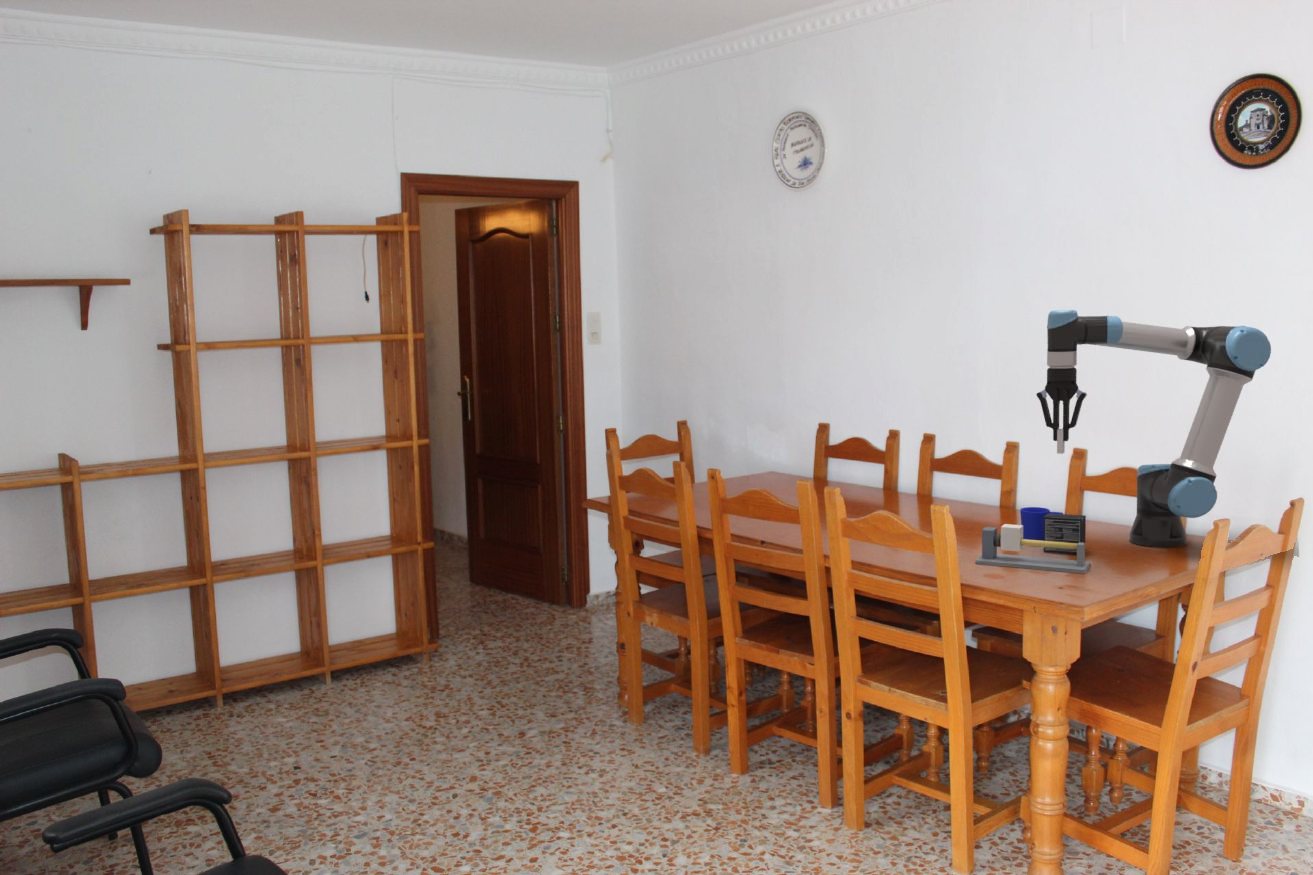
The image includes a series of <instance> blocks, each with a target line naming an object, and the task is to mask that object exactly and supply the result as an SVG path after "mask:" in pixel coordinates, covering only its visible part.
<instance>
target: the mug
mask: <svg viewBox="0 0 1313 875" xmlns="http://www.w3.org/2000/svg"><path fill="white" fill-rule="evenodd" d="M1019 511H1020V525H1023V539H1027V540H1040V541H1044V516H1045V515H1047V514H1048V513H1050V514H1064V513H1063V512H1061V511H1051V510H1050V509H1049V508H1045V507H1038V506H1028V507H1027V506H1026V507H1022V508H1021V507H1020V510H1019Z"/></svg>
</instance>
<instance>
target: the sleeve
mask: <svg viewBox="0 0 1313 875" xmlns="http://www.w3.org/2000/svg"><path fill="white" fill-rule="evenodd" d="M1000 534H1001V547H1000V551H1005V552H1006V551H1009V552H1021V551H1022V550H1023V549H1024V545H1020V541H1021V539H1023V525H1021V524H1010V523H1004V524H1003V525H1002V526H1001V527H1000Z"/></svg>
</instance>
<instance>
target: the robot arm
mask: <svg viewBox="0 0 1313 875" xmlns="http://www.w3.org/2000/svg"><path fill="white" fill-rule="evenodd" d="M1046 328H1047V329H1046V330H1047V333H1046V335H1047V337H1046V338H1047V352H1046V356H1047V357H1046V359H1047V360H1046V365H1047V367H1048V368H1047V369H1046V384H1045V387H1044V389H1043V390H1041V391H1039V392H1037V393H1036V397H1037V399H1038V400H1039V402H1040V405H1041V409H1042V413H1043V419H1044V421H1045V426H1046V427H1047V428H1050V429H1052V430H1053V431H1052V440H1053V441H1054V442H1056V454H1061V455H1063V454H1064V453H1065V452H1066V451H1065V448H1066V446H1065V445H1066V444H1065V442H1068V441H1069V439H1070V432H1069V431H1070V430H1071V429H1073V428H1075V427H1076V426H1077V424H1078V423H1077V422H1078V421H1079V420H1078V419H1079V416H1080V412H1081V408H1082V404H1083V401H1084V399H1086V397H1087V395H1088V394H1087V392H1085V391H1082V390H1080V389H1079V386H1078V384H1077V373H1078V372H1077V368H1076V366H1077V362H1078V361H1077V360H1078V359H1077V358H1078V352H1077V351H1078V349H1077V348H1078V345H1082V346H1083V345H1093V346H1099V347H1100V346H1102V347H1108V348H1109V347H1110V348H1118V349H1125V350H1132V351H1140V352H1148V353H1154V354H1155V353H1157V354H1163V355H1164V354H1165V355H1170V356H1177V358H1178V359H1179V360H1182V361H1190V362H1195V363H1198V364H1202V365H1206V368H1205V370H1206V371H1207V373H1208V375H1209V377H1208V379H1207V380H1208V381H1207V382H1206V386H1205V388H1204V391H1203V394H1202V397H1201V399H1200V402H1199V405H1198V407H1197V409H1196V413H1195V415H1194V418H1193V422H1192V424H1191V427H1190V430H1189V431H1188V435H1187V437H1186V440H1185V442H1184V445H1183V449H1182V451H1181V454H1180V456H1179V458H1177V459H1176V460H1175V459H1174V460H1173V461H1172V462H1171V463H1160V464H1159V463H1157V464H1141V465H1139V467H1137V474H1136V516H1135V518H1134V521H1133V524H1132V526H1131V529H1130V532H1129V542H1130V543H1132V544H1135V545H1139V546H1144V547H1150V548H1178V547H1184V546H1186V545H1188V535H1187V533H1186V529H1185V526H1184V523H1183V520H1182V518H1189V519H1197V518H1201V517H1203V516H1205V515H1207V514H1208V513H1209V512H1210V511H1212V509H1213V508H1214V507H1215V504H1217V499H1218V491H1217V489H1216V486H1215V484H1214V483H1215V481H1216V480H1217V479H1216V478H1217V474H1216V472H1215V470H1214V465H1215V464H1216V460H1217V458H1218V455H1219V452H1220V449H1221V447H1222V445H1223V441H1224V438H1225V436H1226V434H1227V431H1228V428H1229V425H1230V422H1231V420H1232V418H1233V415H1234V412H1235V409H1236V407H1237V404H1238V401H1239V398H1240V396H1241V393H1242V390H1243V387H1244V386H1245V385H1246V384H1248V383H1251V382H1252V381H1253V379H1254V376H1255V373H1256V371H1257V370H1259V369H1261V368H1263V367H1264V366H1266V364H1267V363H1268V361H1269V359H1270V358H1271V353H1272V347H1271V342H1270V339H1269V338H1268V336H1267V335H1266V334H1265V333H1264V332H1263V331H1262V330H1260V329H1259V328H1256V327H1253V326H1247V325H1246V326H1245V325H1240V326H1229V325H1228V326H1225V325H1217V326H1189V325H1188V326H1187V325H1186V326H1184V327H1182V328H1176V327H1169V326H1160V325H1154V324H1153V325H1151V324H1143V323H1136V322H1128V321H1123V320H1122V319H1121V318H1120V317H1119V316H1118V315H1100V316H1099V315H1094V316H1093V315H1091V316H1090V315H1087V316H1081V315H1080V316H1079V315H1078V311H1077V310H1076V309H1068V310H1067V309H1065V310H1064V309H1063V310H1058V309H1057V310H1051V311H1050V312H1049V313H1048V316H1047V326H1046ZM1075 394H1076V396H1075ZM1048 396H1049V397H1050V399H1051V400H1052V406H1053V407H1052V409H1053V410H1052V416H1051V413H1050V409H1049V404H1048V400H1047V397H1048ZM1074 396H1075V397H1076V402H1075V406H1074V409H1073V412H1072V416H1071V420H1070V404H1071V401H1070V400H1072V398H1074ZM1061 402H1062V407H1063V408H1062V428H1060V427H1061V426H1060V403H1061Z"/></svg>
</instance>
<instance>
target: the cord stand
mask: <svg viewBox="0 0 1313 875" xmlns="http://www.w3.org/2000/svg"><path fill="white" fill-rule="evenodd" d="M1020 545H1023V546H1030V547H1031V546H1032V547H1041V548H1044V547H1053V548H1065V549H1077V555H1076V560H1074V559H1065V558H1053V557H1052V558H1051V557H1049V558H1048V557H1040V556H1030V555H1029V556H1028V555H1017V554H1016V555H1015V554H1007V553H1006V554H1005V553H1004V554H1003V553H998V547H999V548H1001V533H998V527H991V526H985V527H983V529H982V530H981V555H980V556H979V557H977V559H975V565H985V566H996V567H1007V568H1015V569H1016V568H1019V569H1028V570H1038V571H1039V570H1041V571H1050V572H1060V573H1061V572H1062V573H1063V572H1064V573H1070V574H1072V573H1073V574H1083V575H1084V574H1086V572H1087V571H1088V570H1089V568H1090V567H1091V565H1092V563H1091V562H1092V561H1087V560H1086V558H1085V557H1086V556H1085V555H1086V554H1085V553H1086V542H1085V543H1080V542H1079V543H1065V542H1053V541H1040V540H1027V539H1021V541H1020Z"/></svg>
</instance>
